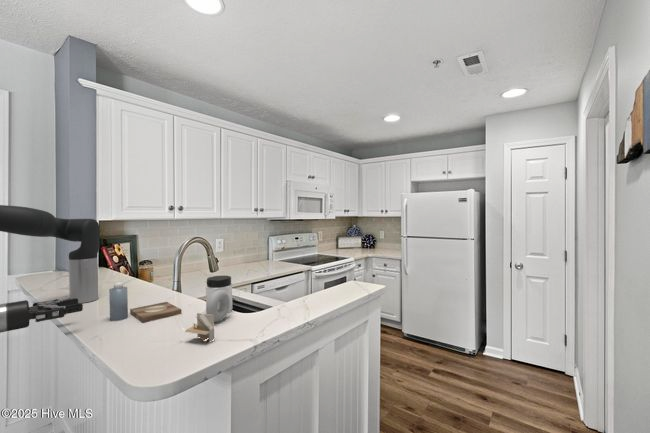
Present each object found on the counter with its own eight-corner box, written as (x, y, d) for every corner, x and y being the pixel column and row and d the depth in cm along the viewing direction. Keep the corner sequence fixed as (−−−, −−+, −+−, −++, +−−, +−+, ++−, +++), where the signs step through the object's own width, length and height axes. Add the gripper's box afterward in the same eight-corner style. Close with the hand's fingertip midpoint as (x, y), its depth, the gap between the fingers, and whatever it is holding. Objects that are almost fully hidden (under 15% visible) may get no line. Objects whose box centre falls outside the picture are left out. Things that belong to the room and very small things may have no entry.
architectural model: (206, 347, 80) (205, 319, 80) (185, 344, 82) (184, 316, 82) (214, 342, 83) (214, 315, 83) (194, 339, 86) (194, 312, 86)
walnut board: (130, 313, 107) (130, 308, 107) (166, 305, 116) (166, 301, 116) (142, 322, 98) (142, 317, 98) (181, 313, 106) (181, 308, 106)
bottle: (108, 318, 102) (107, 282, 102) (125, 314, 106) (124, 280, 106) (111, 322, 99) (111, 285, 99) (129, 318, 102) (129, 282, 102)
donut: (213, 327, 93) (212, 294, 93) (203, 326, 94) (203, 293, 94) (232, 316, 102) (231, 286, 102) (223, 315, 103) (223, 286, 103)
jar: (212, 307, 112) (211, 275, 112) (234, 307, 113) (233, 274, 113) (203, 316, 103) (202, 280, 103) (227, 315, 104) (227, 280, 104)
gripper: (4, 309, 78) (84, 296, 90) (4, 298, 88) (76, 288, 100) (4, 338, 78) (84, 321, 90) (5, 324, 88) (76, 311, 100)
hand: (80, 304), depth 95 cm, fingers open, 8 cm apart
